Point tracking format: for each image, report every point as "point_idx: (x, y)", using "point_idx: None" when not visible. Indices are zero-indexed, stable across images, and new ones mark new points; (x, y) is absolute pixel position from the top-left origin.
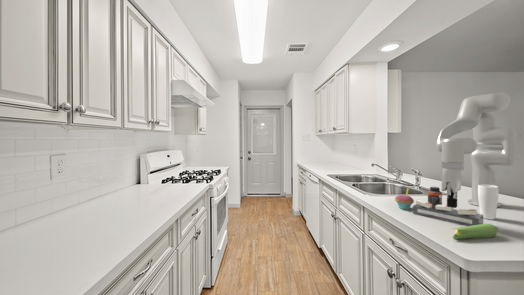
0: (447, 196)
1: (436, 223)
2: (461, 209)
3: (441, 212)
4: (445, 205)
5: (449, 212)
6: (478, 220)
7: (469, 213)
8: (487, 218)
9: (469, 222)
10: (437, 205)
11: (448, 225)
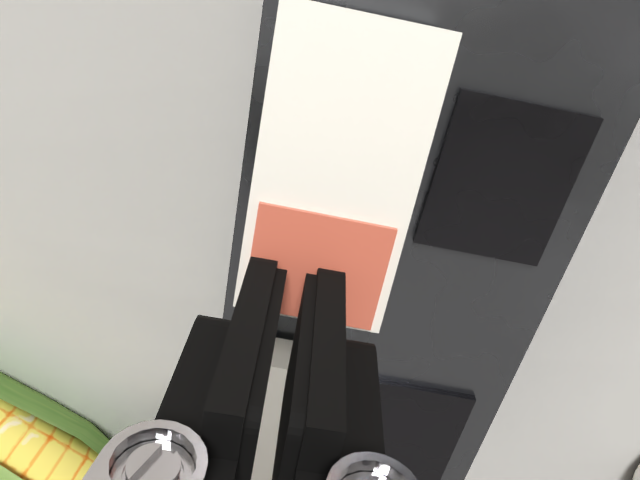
0: (94, 477)
1: (54, 28)
2: None
3: (252, 106)
4: (411, 207)
5: None
6: None
7: None
8: (635, 475)
9: None
10: (351, 43)
11: (97, 168)
